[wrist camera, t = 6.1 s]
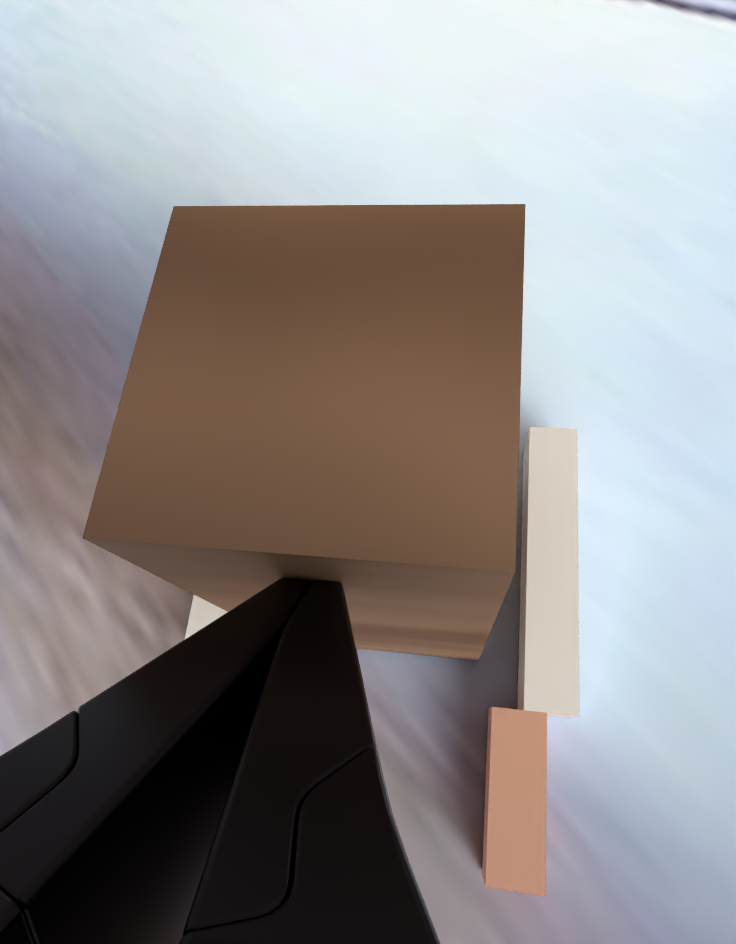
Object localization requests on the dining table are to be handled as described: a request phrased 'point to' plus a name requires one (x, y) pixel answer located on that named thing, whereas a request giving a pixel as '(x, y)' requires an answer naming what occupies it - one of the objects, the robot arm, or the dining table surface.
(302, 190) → the dining table surface
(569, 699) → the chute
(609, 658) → the dining table surface
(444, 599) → the block
